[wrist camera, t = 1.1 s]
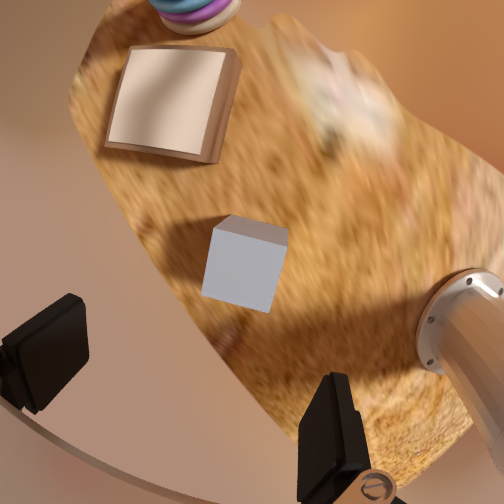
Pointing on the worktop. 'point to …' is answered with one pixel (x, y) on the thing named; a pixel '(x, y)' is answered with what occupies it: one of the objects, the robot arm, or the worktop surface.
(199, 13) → the stacking toy
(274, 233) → the grey block
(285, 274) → the worktop surface
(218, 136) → the walnut tray
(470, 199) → the worktop surface
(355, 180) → the worktop surface
